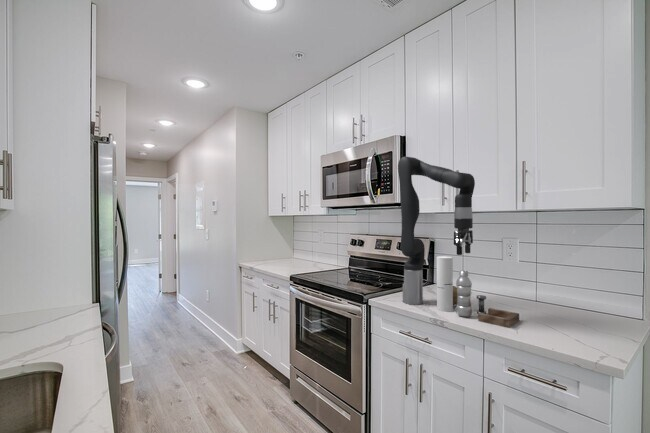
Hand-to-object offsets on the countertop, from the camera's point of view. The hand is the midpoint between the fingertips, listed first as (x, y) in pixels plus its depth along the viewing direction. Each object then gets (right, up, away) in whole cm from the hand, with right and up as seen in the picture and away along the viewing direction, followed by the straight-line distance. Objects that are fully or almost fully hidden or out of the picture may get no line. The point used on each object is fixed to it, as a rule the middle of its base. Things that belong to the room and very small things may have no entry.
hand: (463, 254), depth 145 cm
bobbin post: (+9, -28, +3) cm, 29 cm away
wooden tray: (+12, -28, -7) cm, 31 cm away
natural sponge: (+1, -28, +18) cm, 33 cm away
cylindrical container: (-4, -28, +11) cm, 30 cm away
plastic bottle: (0, -28, 0) cm, 28 cm away
